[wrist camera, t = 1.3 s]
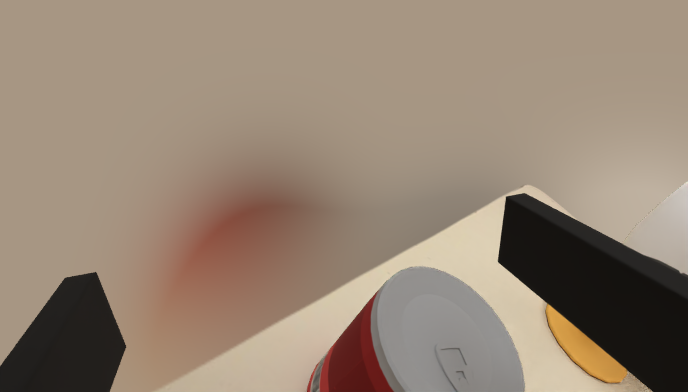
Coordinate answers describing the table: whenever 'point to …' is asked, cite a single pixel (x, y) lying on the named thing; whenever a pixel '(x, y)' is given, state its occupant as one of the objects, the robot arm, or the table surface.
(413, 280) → the canned food
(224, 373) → the table surface
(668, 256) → the cup
